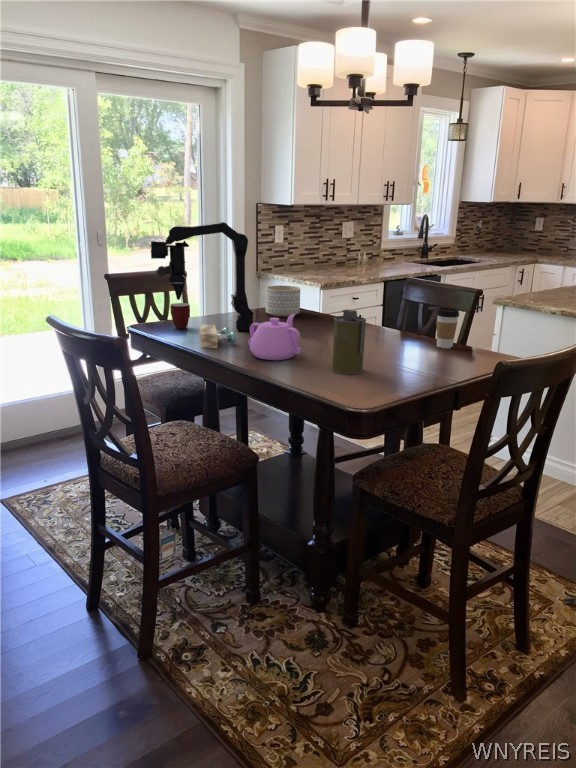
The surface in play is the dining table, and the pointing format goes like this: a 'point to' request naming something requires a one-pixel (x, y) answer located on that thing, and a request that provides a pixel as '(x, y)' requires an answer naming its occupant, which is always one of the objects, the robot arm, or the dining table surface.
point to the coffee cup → (446, 326)
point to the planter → (282, 300)
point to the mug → (180, 314)
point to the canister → (348, 343)
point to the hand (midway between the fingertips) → (179, 297)
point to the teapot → (274, 339)
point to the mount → (208, 336)
